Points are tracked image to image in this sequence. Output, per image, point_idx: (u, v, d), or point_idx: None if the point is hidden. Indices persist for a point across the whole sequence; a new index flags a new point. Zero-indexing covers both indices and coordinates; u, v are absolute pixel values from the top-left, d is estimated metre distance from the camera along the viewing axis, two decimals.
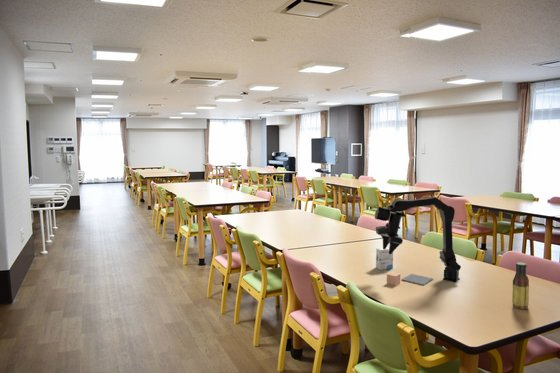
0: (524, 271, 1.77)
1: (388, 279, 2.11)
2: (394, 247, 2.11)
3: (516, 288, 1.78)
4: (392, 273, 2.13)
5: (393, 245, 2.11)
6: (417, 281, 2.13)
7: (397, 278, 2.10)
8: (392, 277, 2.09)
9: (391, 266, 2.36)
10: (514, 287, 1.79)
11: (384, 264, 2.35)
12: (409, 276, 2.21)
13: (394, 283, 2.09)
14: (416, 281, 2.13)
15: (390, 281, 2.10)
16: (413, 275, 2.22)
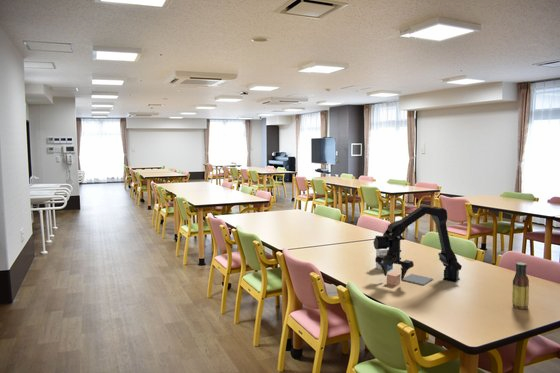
0: (524, 271, 1.77)
1: (388, 279, 2.11)
2: (405, 271, 2.08)
3: (516, 288, 1.78)
4: (392, 273, 2.13)
5: (404, 270, 2.08)
6: (417, 281, 2.13)
7: (397, 278, 2.10)
8: (392, 277, 2.09)
9: (391, 266, 2.36)
10: (514, 287, 1.79)
11: None
12: (409, 276, 2.21)
13: (394, 283, 2.09)
14: (416, 281, 2.13)
15: (390, 281, 2.10)
16: (413, 275, 2.22)
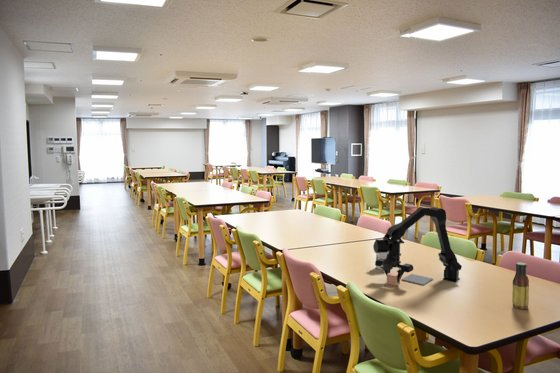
0: (524, 271, 1.77)
1: (388, 279, 2.11)
2: (401, 274, 2.10)
3: (516, 288, 1.78)
4: (392, 273, 2.13)
5: (400, 273, 2.09)
6: (417, 281, 2.13)
7: None
8: (392, 277, 2.09)
9: None
10: (514, 287, 1.79)
11: None
12: (409, 276, 2.21)
13: (394, 283, 2.09)
14: (416, 281, 2.13)
15: (390, 281, 2.10)
16: (413, 275, 2.22)
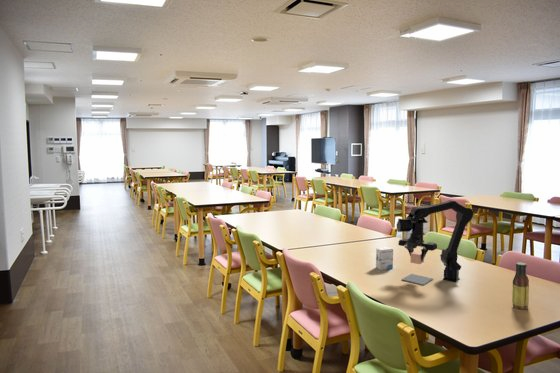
0: (524, 271, 1.77)
1: (411, 258, 2.15)
2: (425, 253, 2.13)
3: (516, 288, 1.78)
4: (415, 252, 2.16)
5: (424, 252, 2.13)
6: (417, 281, 2.13)
7: None
8: (416, 256, 2.13)
9: (391, 266, 2.36)
10: (514, 287, 1.79)
11: (384, 264, 2.35)
12: (409, 276, 2.21)
13: (418, 261, 2.13)
14: (416, 281, 2.13)
15: (414, 260, 2.14)
16: (413, 275, 2.22)
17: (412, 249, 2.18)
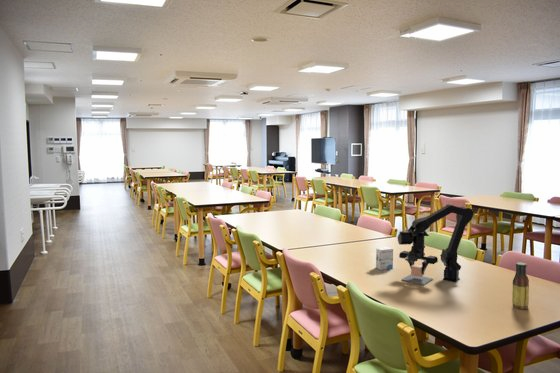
0: (524, 271, 1.77)
1: (412, 270, 2.16)
2: (426, 266, 2.14)
3: (516, 288, 1.78)
4: (416, 265, 2.17)
5: None
6: (417, 281, 2.13)
7: (421, 269, 2.14)
8: (417, 269, 2.14)
9: (391, 266, 2.36)
10: (514, 287, 1.79)
11: (384, 264, 2.35)
12: (409, 276, 2.21)
13: (419, 274, 2.14)
14: (416, 281, 2.13)
15: (415, 273, 2.15)
16: None
17: (413, 262, 2.19)
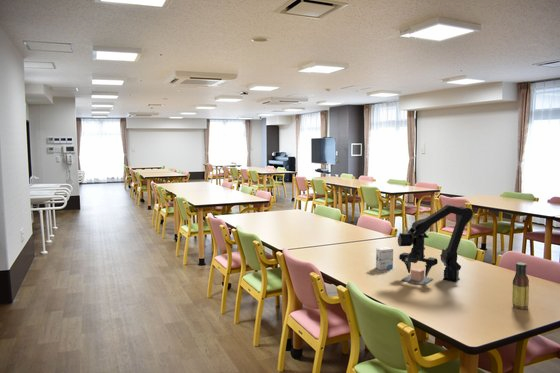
0: (524, 271, 1.77)
1: (412, 274, 2.16)
2: (429, 269, 2.13)
3: (516, 288, 1.78)
4: (416, 269, 2.17)
5: (428, 267, 2.12)
6: (417, 281, 2.13)
7: (421, 273, 2.14)
8: (417, 273, 2.14)
9: (391, 266, 2.36)
10: (514, 287, 1.79)
11: (384, 264, 2.35)
12: (409, 276, 2.21)
13: (418, 278, 2.14)
14: (416, 281, 2.13)
15: (415, 277, 2.15)
16: None
17: (409, 263, 2.20)
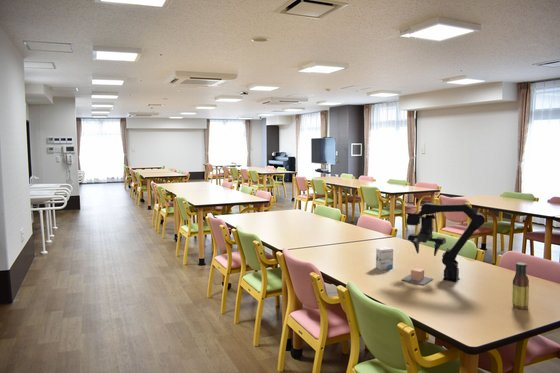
0: (524, 271, 1.77)
1: (412, 274, 2.16)
2: (438, 248, 2.19)
3: (516, 288, 1.78)
4: (416, 269, 2.17)
5: None
6: (417, 281, 2.13)
7: (421, 273, 2.14)
8: (417, 273, 2.14)
9: (391, 266, 2.36)
10: (514, 287, 1.79)
11: (384, 264, 2.35)
12: (409, 276, 2.21)
13: (418, 278, 2.14)
14: (416, 281, 2.13)
15: (415, 277, 2.15)
16: None
17: (417, 243, 2.25)
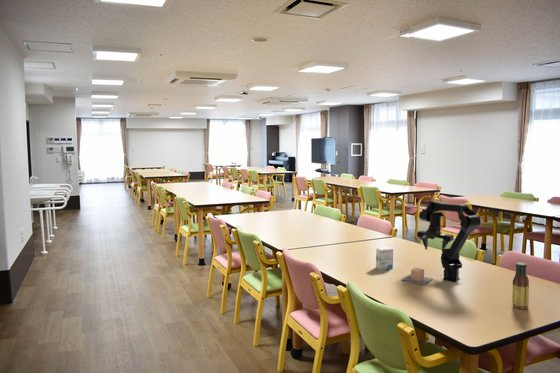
0: (524, 271, 1.77)
1: (412, 274, 2.16)
2: (446, 245, 2.25)
3: (516, 288, 1.78)
4: (416, 269, 2.17)
5: None
6: (417, 281, 2.13)
7: (421, 273, 2.14)
8: (417, 273, 2.14)
9: (391, 266, 2.36)
10: (514, 287, 1.79)
11: (384, 264, 2.35)
12: (409, 276, 2.21)
13: (418, 278, 2.14)
14: (416, 281, 2.13)
15: (415, 277, 2.15)
16: None
17: (426, 240, 2.32)
